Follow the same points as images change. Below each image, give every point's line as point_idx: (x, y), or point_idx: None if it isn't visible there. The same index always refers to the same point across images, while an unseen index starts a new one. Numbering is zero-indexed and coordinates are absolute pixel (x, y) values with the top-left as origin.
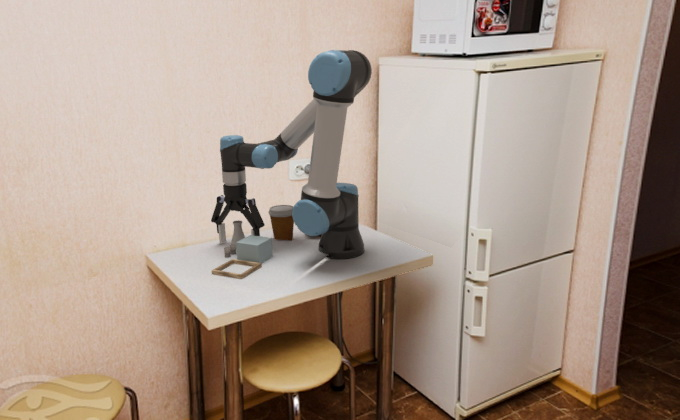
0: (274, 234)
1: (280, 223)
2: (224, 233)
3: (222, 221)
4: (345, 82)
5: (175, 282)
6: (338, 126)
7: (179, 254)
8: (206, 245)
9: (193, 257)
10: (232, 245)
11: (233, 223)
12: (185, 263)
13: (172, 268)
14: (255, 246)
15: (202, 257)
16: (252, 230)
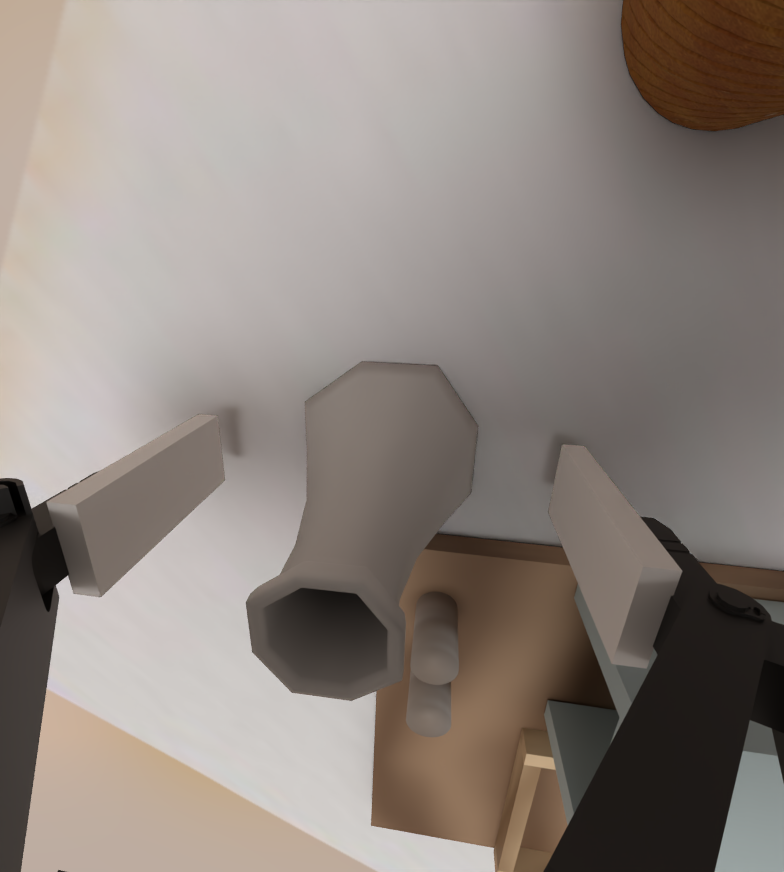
0: (705, 83)
1: None
2: (170, 465)
3: (33, 545)
4: None
5: (359, 861)
6: None
7: (87, 607)
8: (86, 424)
9: (198, 631)
10: (439, 674)
11: (302, 683)
12: (231, 705)
13: (225, 759)
14: None
15: (246, 622)
16: (631, 656)
